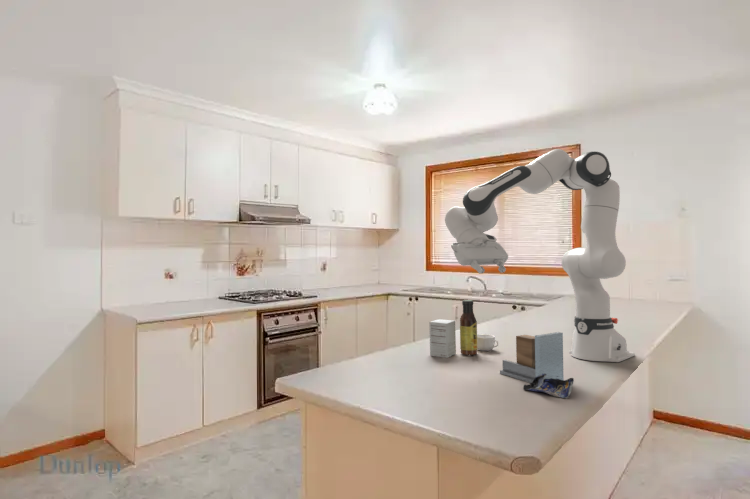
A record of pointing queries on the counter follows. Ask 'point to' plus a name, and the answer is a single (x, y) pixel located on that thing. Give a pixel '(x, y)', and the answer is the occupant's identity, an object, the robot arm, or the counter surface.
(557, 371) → the track
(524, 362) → the tan wooden block
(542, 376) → the snack package
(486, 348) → the teacup
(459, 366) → the counter surface
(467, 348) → the sauce bottle
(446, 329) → the supplement box
